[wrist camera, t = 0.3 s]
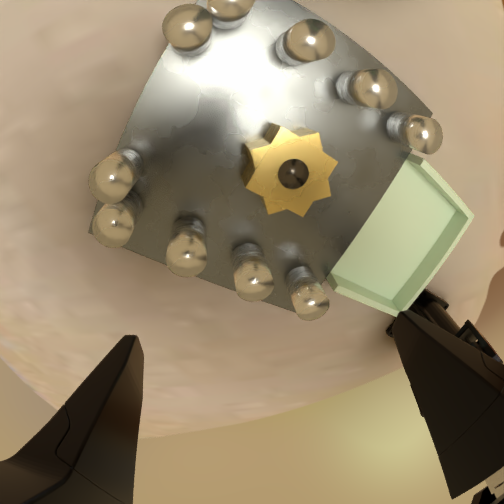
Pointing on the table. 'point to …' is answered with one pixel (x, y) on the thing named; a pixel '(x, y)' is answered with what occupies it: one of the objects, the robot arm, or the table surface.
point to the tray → (402, 240)
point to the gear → (288, 169)
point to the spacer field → (236, 157)
